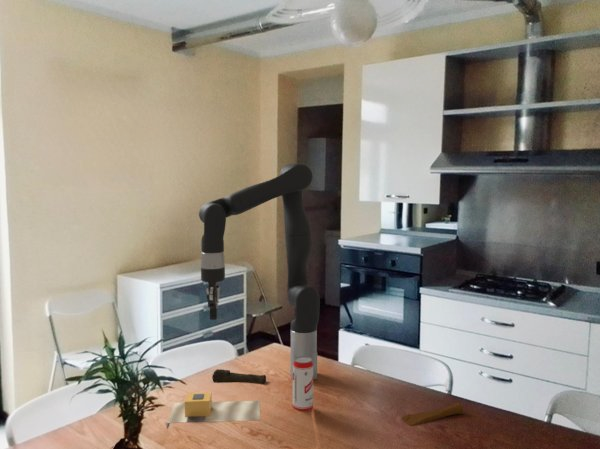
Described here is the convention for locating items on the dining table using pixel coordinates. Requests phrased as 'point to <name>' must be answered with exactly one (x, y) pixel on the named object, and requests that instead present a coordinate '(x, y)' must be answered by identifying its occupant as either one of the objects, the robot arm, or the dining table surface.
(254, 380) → the black flashlight
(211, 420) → the board
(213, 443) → the dining table surface
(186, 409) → the yellow block
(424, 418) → the primitive tool
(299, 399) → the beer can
